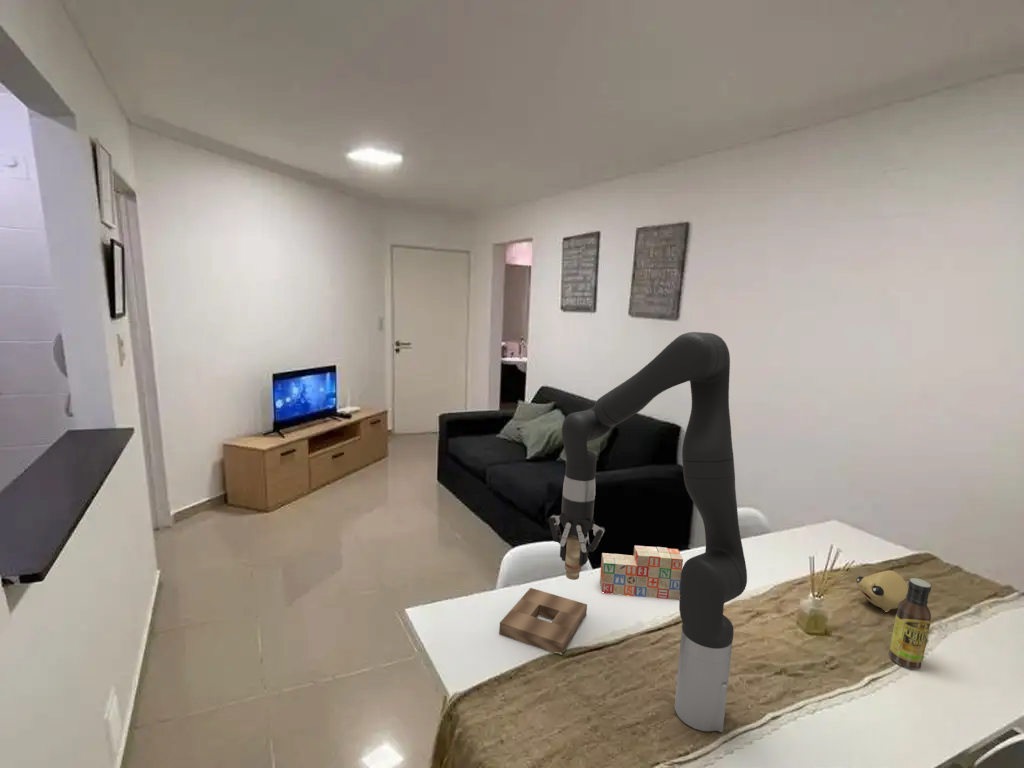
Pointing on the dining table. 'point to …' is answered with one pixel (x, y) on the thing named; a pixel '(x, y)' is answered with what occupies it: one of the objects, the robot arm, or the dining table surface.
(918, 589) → the sauce bottle
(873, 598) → the tan toy head
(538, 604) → the board
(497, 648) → the dining table surface
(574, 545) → the peg
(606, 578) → the stack of blocks
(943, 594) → the dining table surface
